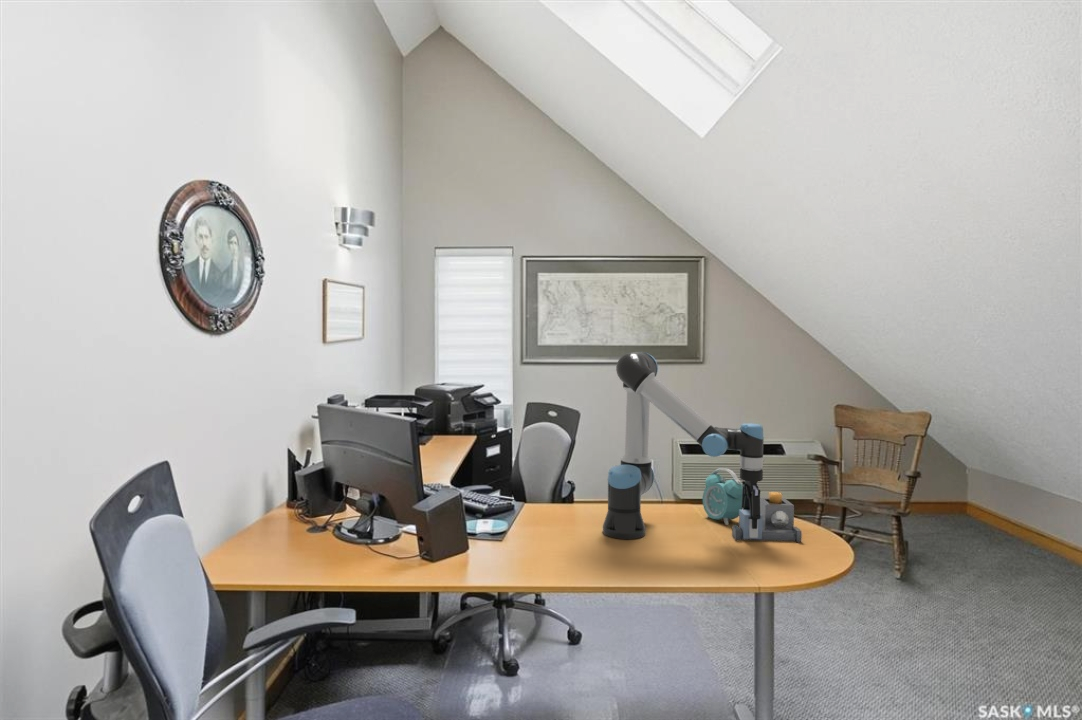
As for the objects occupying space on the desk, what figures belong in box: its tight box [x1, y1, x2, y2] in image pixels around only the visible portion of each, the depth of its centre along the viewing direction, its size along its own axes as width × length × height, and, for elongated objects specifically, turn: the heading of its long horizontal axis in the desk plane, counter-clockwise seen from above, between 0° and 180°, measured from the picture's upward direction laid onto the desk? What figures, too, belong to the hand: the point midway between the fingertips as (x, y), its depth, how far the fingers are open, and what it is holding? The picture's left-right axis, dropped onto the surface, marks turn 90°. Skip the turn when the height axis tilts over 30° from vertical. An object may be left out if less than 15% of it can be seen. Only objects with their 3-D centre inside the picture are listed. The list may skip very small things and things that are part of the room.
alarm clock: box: [702, 467, 743, 526], centre depth 230 cm, size 17×10×20 cm, turn 25°
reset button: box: [768, 491, 783, 504], centre depth 220 cm, size 4×4×4 cm
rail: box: [731, 524, 802, 544], centre depth 207 cm, size 22×5×4 cm, turn 86°
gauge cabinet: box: [760, 497, 795, 530], centre depth 220 cm, size 10×11×10 cm
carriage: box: [738, 509, 762, 539], centre depth 208 cm, size 6×7×8 cm
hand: (750, 533), depth 208 cm, fingers closed on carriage, 7 cm apart
